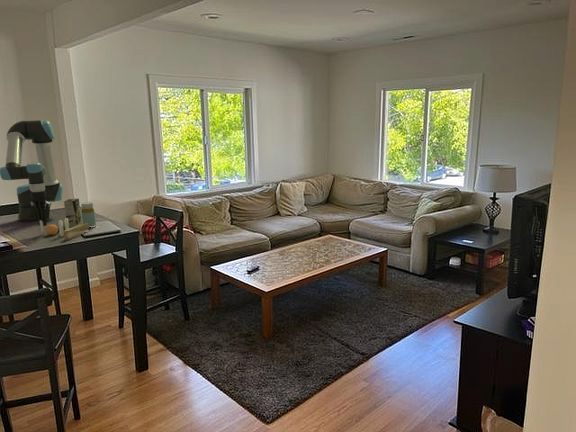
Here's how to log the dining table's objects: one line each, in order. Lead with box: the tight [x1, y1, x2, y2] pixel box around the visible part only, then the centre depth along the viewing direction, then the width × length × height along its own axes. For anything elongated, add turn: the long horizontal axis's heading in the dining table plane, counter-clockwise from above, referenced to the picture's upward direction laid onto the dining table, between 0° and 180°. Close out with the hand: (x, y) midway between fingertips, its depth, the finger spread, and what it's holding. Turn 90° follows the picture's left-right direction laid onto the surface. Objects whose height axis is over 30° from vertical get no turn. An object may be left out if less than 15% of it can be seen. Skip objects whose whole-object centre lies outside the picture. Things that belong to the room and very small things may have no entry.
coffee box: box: [63, 198, 83, 228], centre depth 270 cm, size 9×6×16 cm
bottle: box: [81, 201, 97, 226], centre depth 264 cm, size 7×7×15 cm
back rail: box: [63, 222, 90, 241], centre depth 247 cm, size 3×18×5 cm, turn 171°
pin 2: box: [63, 217, 70, 230], centre depth 250 cm, size 2×2×9 cm
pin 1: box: [57, 220, 64, 237], centre depth 245 cm, size 2×2×9 cm
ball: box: [45, 224, 59, 236], centre depth 249 cm, size 6×6×6 cm
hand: (43, 231), depth 250 cm, fingers closed
